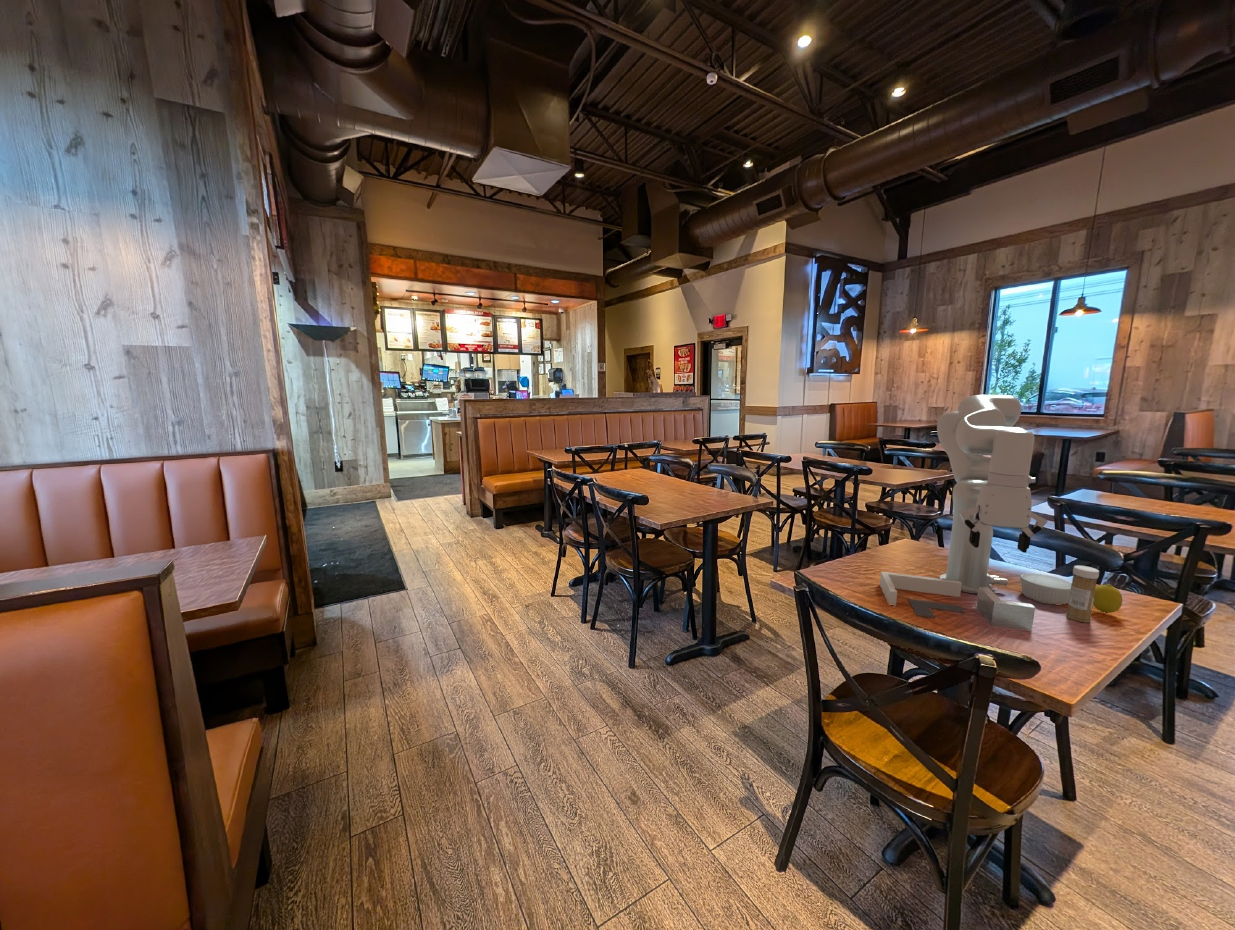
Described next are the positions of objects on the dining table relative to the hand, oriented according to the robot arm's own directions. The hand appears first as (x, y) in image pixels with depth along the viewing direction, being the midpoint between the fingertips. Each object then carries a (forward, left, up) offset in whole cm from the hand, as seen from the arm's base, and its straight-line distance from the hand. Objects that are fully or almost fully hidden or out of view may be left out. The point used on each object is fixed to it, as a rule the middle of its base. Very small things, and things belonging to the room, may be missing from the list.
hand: (997, 548), depth 117 cm
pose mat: (+11, +1, -18) cm, 21 cm away
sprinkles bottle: (-21, -7, -18) cm, 29 cm away
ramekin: (-19, -19, -18) cm, 33 cm away
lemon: (-29, -13, -18) cm, 37 cm away
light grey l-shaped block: (+13, -5, -18) cm, 23 cm away
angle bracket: (-3, 0, -18) cm, 18 cm away
